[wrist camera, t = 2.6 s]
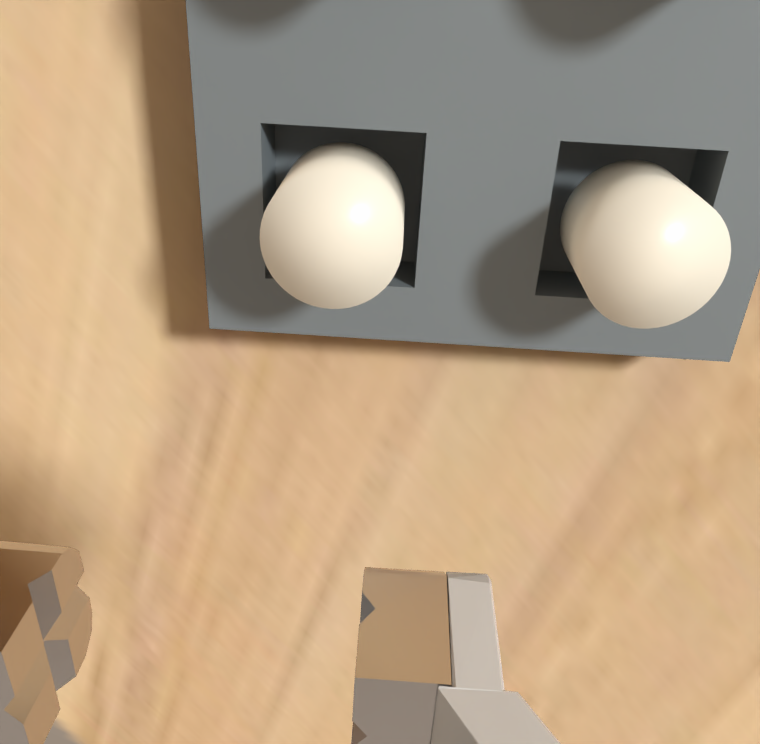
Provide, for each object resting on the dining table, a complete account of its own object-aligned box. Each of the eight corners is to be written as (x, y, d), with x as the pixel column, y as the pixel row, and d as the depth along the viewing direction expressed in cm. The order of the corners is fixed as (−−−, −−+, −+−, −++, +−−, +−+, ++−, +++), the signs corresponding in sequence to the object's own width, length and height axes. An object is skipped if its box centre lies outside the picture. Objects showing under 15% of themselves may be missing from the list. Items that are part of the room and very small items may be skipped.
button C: (703, 163, 22) (749, 196, 19) (671, 285, 24) (708, 332, 21) (571, 156, 22) (597, 186, 19) (550, 277, 24) (570, 324, 21)
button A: (409, 145, 22) (407, 175, 19) (400, 268, 24) (398, 313, 21) (279, 138, 22) (257, 166, 19) (281, 261, 24) (261, 304, 21)
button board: (883, -303, 19) (959, -347, 16) (700, 324, 28) (729, 361, 25) (193, -338, 19) (157, -386, 17) (229, 294, 28) (209, 328, 25)
